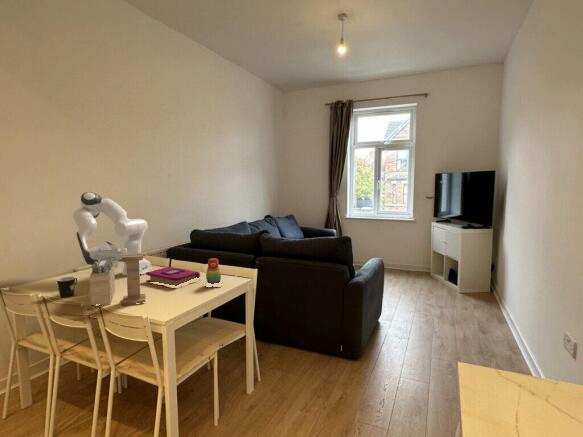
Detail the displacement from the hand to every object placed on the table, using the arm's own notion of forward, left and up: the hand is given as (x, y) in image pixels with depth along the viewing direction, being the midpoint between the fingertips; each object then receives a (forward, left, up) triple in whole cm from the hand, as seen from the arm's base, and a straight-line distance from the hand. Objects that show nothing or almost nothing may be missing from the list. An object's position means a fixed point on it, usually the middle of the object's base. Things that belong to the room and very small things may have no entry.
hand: (107, 249), depth 200 cm
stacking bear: (-35, +51, -25) cm, 66 cm away
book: (-30, +21, -26) cm, 45 cm away
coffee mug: (+16, -12, -25) cm, 32 cm away
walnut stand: (+8, +29, -25) cm, 39 cm away
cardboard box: (+12, +10, -25) cm, 30 cm away
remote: (+10, +8, -8) cm, 15 cm away
